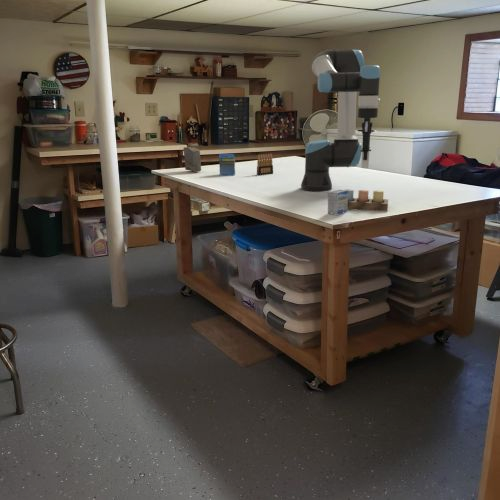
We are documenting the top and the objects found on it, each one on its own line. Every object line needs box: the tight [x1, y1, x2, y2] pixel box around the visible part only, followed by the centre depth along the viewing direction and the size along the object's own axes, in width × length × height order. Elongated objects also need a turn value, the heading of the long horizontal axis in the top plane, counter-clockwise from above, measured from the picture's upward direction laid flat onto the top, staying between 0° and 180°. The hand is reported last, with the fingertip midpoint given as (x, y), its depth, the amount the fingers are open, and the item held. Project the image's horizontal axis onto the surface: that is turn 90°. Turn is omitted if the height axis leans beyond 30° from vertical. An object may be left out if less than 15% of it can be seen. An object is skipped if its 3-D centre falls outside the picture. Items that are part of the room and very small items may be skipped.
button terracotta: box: [357, 189, 369, 202], centre depth 212 cm, size 4×4×5 cm
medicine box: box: [327, 189, 348, 215], centre depth 204 cm, size 8×4×9 cm, turn 138°
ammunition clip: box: [256, 153, 274, 177], centre depth 299 cm, size 11×2×12 cm, turn 125°
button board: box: [347, 197, 389, 212], centre depth 213 cm, size 20×9×3 cm, turn 74°
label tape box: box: [218, 153, 236, 176], centre depth 299 cm, size 9×4×12 cm, turn 84°
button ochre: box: [372, 190, 384, 203], centre depth 211 cm, size 4×4×5 cm
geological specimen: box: [182, 146, 202, 173], centre depth 311 cm, size 11×6×15 cm, turn 35°
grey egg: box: [346, 189, 355, 201], centre depth 214 cm, size 4×4×5 cm
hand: (364, 167), depth 208 cm, fingers closed
